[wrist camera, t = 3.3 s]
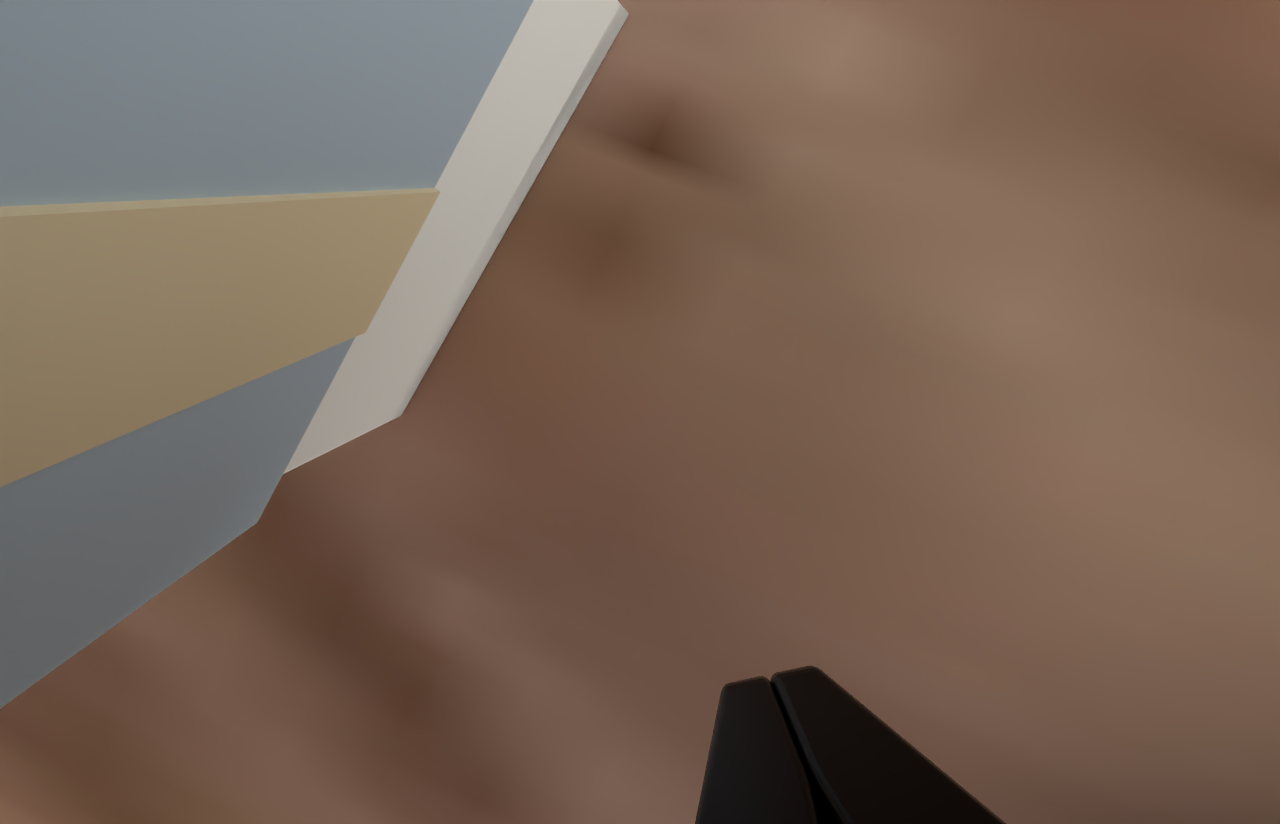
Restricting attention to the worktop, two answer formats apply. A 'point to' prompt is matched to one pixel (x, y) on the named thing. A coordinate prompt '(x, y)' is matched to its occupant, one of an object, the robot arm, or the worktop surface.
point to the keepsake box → (467, 215)
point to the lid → (194, 267)
